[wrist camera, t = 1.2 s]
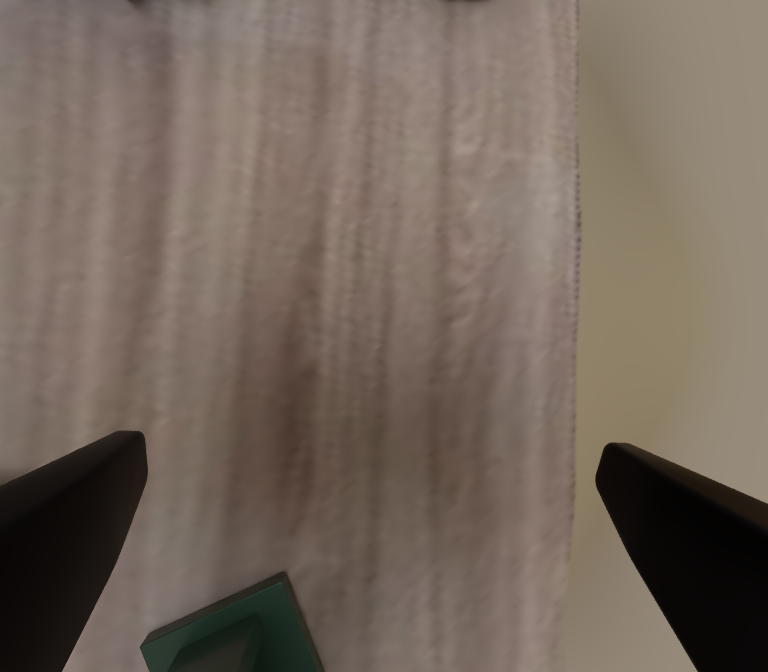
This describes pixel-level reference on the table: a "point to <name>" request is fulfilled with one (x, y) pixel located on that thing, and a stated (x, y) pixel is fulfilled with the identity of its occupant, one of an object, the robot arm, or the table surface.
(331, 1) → the table surface
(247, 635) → the bracket
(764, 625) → the robot arm
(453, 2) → the table surface
